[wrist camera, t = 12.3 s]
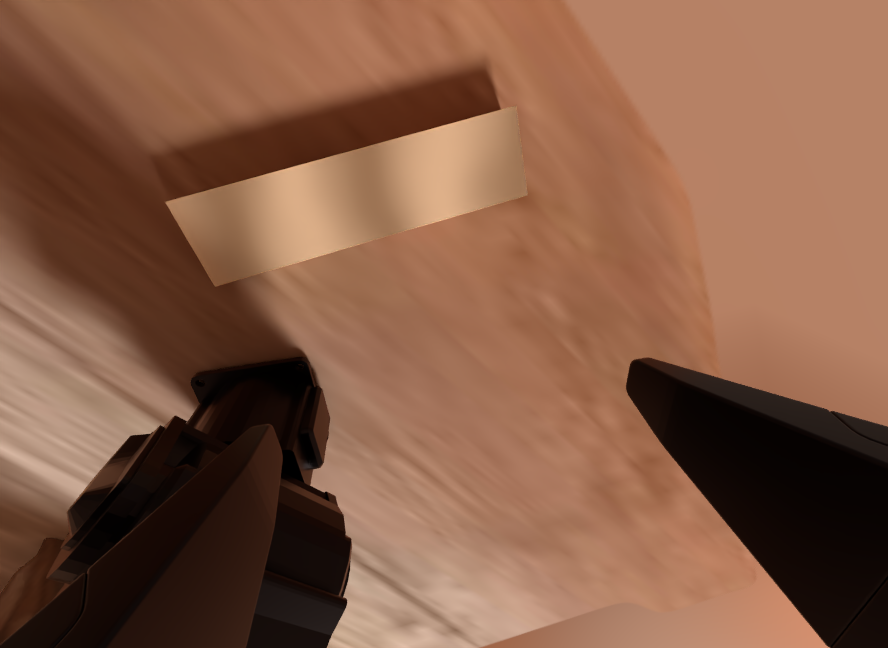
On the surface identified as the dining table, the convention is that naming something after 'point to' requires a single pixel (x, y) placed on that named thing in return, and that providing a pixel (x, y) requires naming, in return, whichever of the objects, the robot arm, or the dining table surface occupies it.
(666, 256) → the dining table surface
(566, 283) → the dining table surface
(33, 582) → the brown paper bag
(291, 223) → the slat
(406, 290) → the dining table surface
